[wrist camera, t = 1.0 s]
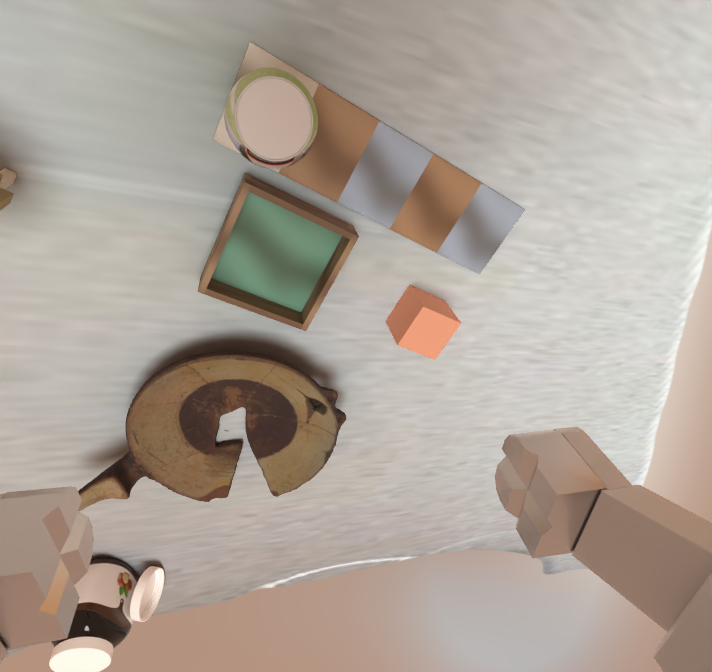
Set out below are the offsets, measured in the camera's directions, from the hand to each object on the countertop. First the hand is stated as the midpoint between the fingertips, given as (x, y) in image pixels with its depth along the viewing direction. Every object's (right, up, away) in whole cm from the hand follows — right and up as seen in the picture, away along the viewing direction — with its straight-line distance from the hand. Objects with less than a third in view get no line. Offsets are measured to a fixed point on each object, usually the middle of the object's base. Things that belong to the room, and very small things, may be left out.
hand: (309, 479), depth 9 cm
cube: (+8, +6, +44) cm, 45 cm away
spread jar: (-33, -31, +59) cm, 74 cm away
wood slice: (-16, -6, +46) cm, 49 cm away
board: (+4, +18, +35) cm, 39 cm away
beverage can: (-7, +22, +30) cm, 38 cm away
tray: (-7, +11, +37) cm, 39 cm away
